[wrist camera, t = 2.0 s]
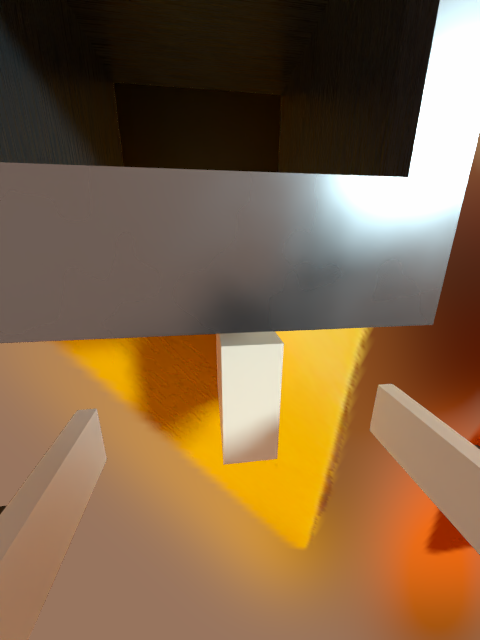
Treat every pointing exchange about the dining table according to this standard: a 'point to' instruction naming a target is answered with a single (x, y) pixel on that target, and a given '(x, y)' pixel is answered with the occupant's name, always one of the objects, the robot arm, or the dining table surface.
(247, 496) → the dining table surface
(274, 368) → the white rectangular block
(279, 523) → the dining table surface
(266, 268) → the grey open box
